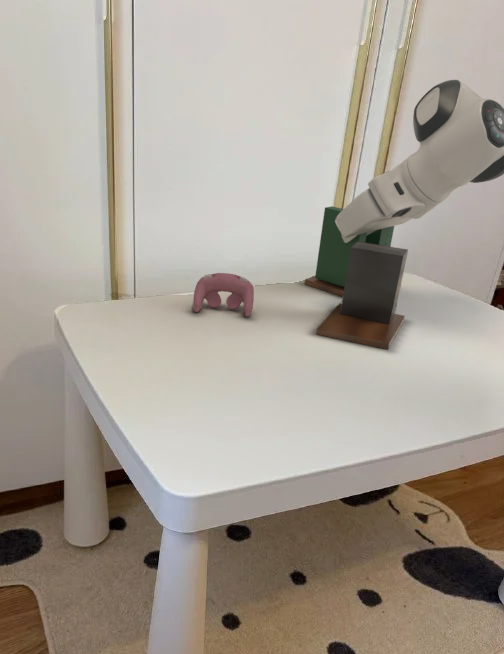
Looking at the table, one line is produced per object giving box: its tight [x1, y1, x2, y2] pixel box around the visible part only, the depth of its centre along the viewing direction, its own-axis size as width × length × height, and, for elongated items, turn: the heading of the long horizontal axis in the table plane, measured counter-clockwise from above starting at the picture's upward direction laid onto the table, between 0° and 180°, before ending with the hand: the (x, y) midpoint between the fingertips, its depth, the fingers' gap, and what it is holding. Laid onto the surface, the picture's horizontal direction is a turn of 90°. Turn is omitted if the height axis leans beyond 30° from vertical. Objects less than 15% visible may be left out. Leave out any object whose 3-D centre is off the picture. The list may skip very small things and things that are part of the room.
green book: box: [314, 205, 367, 287], centre depth 114 cm, size 8×2×13 cm, turn 44°
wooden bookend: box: [316, 242, 409, 350], centre depth 98 cm, size 11×14×12 cm
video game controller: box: [192, 272, 255, 317], centre depth 104 cm, size 10×5×7 cm, turn 83°
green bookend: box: [304, 226, 395, 297], centre depth 117 cm, size 11×14×14 cm
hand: (350, 237), depth 112 cm, fingers closed on green book, 2 cm apart
